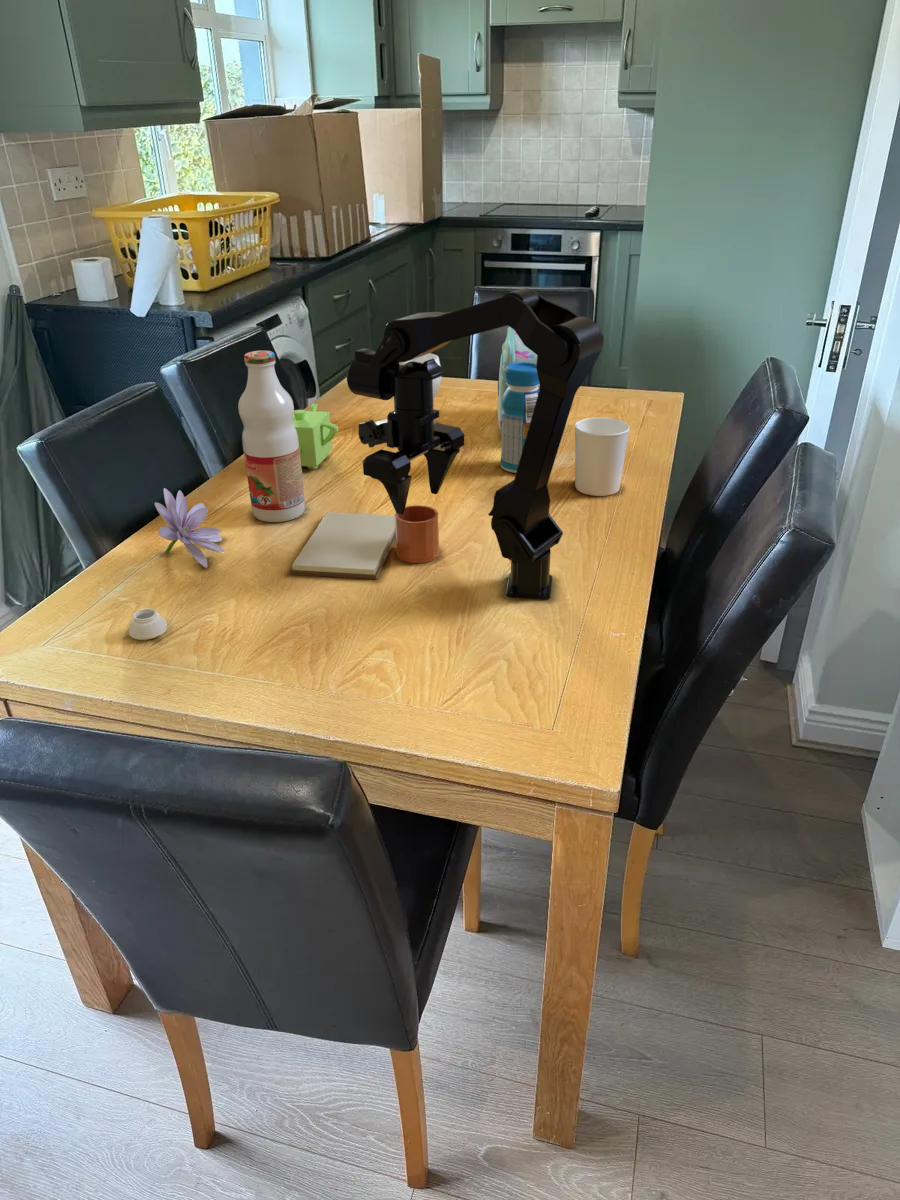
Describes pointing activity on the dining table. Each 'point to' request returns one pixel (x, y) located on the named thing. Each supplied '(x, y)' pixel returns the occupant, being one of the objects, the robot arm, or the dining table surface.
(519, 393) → the beverage bottle
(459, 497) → the dining table surface
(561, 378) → the robot arm
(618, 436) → the white tumbler
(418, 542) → the pot
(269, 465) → the fruit juice
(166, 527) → the water lily
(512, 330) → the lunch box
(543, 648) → the dining table surface
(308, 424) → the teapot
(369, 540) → the tile
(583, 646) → the dining table surface
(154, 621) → the lidless jar
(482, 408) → the dining table surface
